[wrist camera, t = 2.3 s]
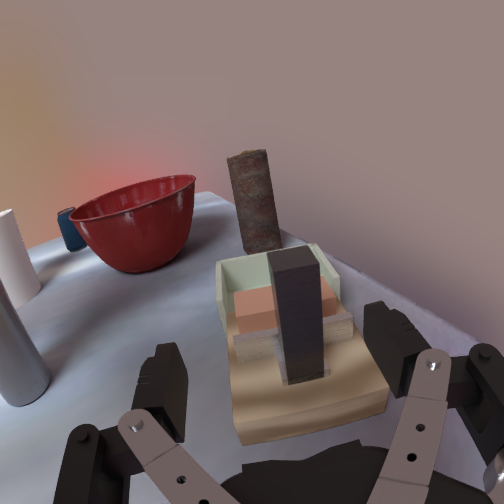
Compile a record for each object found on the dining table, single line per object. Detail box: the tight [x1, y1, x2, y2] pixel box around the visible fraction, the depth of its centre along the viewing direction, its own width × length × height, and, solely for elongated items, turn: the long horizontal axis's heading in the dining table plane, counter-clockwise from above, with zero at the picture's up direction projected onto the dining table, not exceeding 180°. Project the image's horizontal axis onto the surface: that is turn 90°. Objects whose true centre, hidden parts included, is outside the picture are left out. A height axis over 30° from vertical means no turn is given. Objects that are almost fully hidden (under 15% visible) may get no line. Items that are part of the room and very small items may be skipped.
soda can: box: [57, 207, 87, 252], centre depth 84 cm, size 7×7×12 cm
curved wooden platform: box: [226, 292, 390, 446], centre depth 33 cm, size 17×14×4 cm
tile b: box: [320, 276, 336, 317], centre depth 37 cm, size 5×5×3 cm
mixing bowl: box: [69, 175, 196, 273], centre depth 67 cm, size 28×28×16 cm
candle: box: [227, 149, 282, 255], centre depth 60 cm, size 8×7×20 cm
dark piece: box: [233, 245, 353, 387], centre depth 28 cm, size 5×12×12 cm, turn 96°
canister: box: [0, 209, 41, 309], centre depth 59 cm, size 14×14×20 cm
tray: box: [216, 243, 340, 338], centre depth 46 cm, size 11×16×6 cm
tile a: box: [233, 286, 277, 334], centre depth 37 cm, size 5×5×3 cm
